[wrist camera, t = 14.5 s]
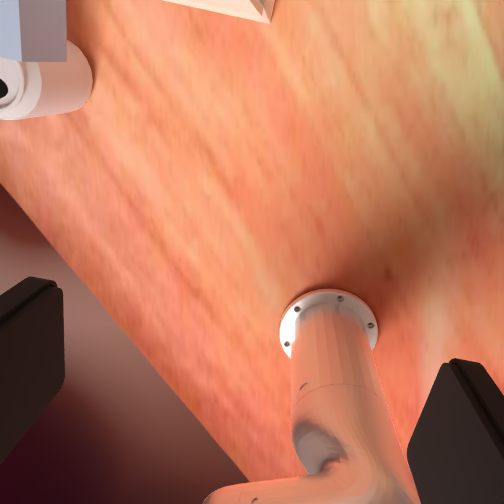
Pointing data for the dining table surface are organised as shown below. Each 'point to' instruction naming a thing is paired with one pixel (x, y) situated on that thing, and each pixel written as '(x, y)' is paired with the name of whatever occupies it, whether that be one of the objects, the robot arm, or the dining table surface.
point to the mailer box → (267, 3)
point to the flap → (60, 27)
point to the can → (44, 86)
